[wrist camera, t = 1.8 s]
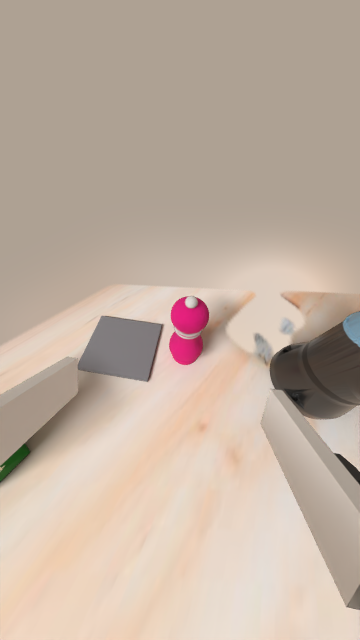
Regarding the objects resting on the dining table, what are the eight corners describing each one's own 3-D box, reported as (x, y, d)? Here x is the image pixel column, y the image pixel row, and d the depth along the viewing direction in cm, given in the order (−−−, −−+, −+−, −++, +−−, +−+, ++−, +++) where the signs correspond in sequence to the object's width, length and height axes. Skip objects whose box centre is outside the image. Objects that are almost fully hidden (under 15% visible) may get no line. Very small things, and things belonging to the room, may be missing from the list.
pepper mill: (171, 337, 42) (167, 278, 25) (199, 339, 42) (216, 280, 25) (168, 366, 38) (162, 319, 21) (200, 368, 38) (220, 322, 21)
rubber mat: (161, 326, 43) (161, 324, 43) (147, 381, 36) (147, 380, 35) (102, 317, 44) (101, 315, 44) (77, 369, 37) (75, 368, 36)
